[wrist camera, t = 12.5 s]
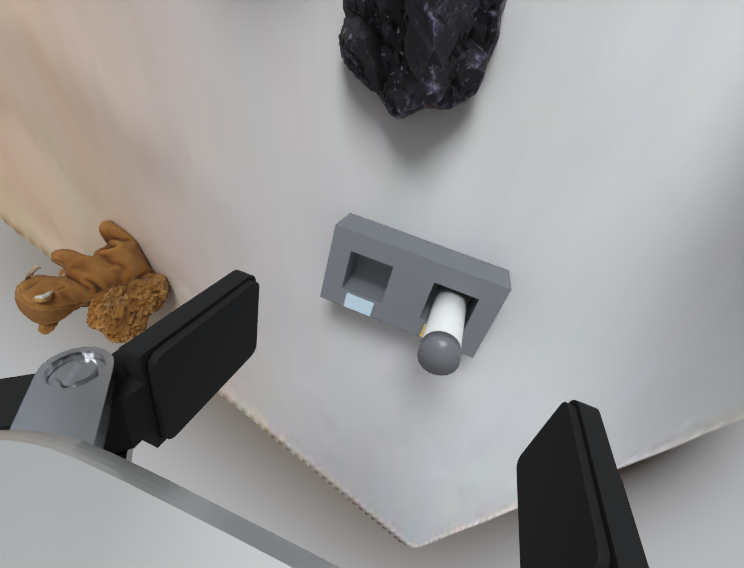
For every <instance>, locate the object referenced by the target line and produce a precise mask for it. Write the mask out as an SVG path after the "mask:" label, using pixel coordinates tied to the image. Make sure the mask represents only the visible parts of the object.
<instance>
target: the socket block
mask: <svg viewBox="0 0 744 568" xmlns="http://www.w3.org/2000/svg"><path fill="white" fill-rule="evenodd" d="M439 285H442V286H445V287H448V288H450V289H453V290H456V291H458V292H461V293H464V294H466V295H468V298H467V306H466V314H465V321H464V329H463V337H462V344H461V353H462V354H465V355H467V356H470V357H472V358H473V357H474V355H475V353H476V351H477V349H478V348H479V346H480V344H481V342H482V341H483V339H484V337H485V335H486V333H487V332H488V330H489V328H490V326H491V325H492V323H493V321H494V319H495V317H496V316H497V314H498V312H499V310H500V308H501V307H502V305H503V303H504V301H505V300H506V298H507V296H508V294H509V292H510V291H511V284H510V275H509V271H508V270H506V269H503V268H500V267H497V266H495V265H492V264H489V263H486V262H484V261H481V260H478V259H475V258H473V257H470V256H467V255H464V254H462V253H459V252H456V251H453V250H451V249H448V248H445V247H442V246H440V245H437V244H434V243H431V242H429V241H426V240H423V239H420V238H418V237H415V236H412V235H409V234H407V233H404V232H401V231H398V230H396V229H393V228H390V227H387V226H385V225H382V224H379V223H376V222H374V221H371V220H368V219H365V218H363V217H360V216H357V215H354V214H352V213H349V214H348V215H347V216H346V217H345V218H343V219H342V220H341V221H340V222H338V223H337V224H336V226H335V231H334V235H333V240H332V245H331V249H330V254H329V258H328V263H327V268H326V272H325V277H324V282H323V286H322V291H321V295H320V297H322V298H325V299H327V300H330V301H332V302H335V303H337V304H340V305H342V306H345V307H347V308H350V309H352V310H355V311H357V312H360V313H362V314H365V315H367V316H370V317H372V318H375V319H377V320H380V321H382V322H385V323H387V324H390V325H392V326H395V327H397V328H400V329H402V330H405V331H407V332H410V333H412V334H415V335H417V336H420V337H422V338H423V335H424V332H425V328H426V325H427V322H428V318H429V315H430V312H431V308H432V305H433V302H434V298H435V295H436V291H437V288H438V286H439Z"/></svg>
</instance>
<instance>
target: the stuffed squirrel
mask: <svg viewBox="0 0 744 568" xmlns="http://www.w3.org/2000/svg"><path fill="white" fill-rule="evenodd" d="M99 231H100V234H101V236H102V237H103V239H104V240H105V241H106V243H107V245H106V246H105V247H103V248H100V249H98V250H96V251H95V252H93V253H92V254H91V255H90V256H87V255H84V254H81V253H79V252H76V251H73V250H70V249H59V250H55V251H54V252H52V253H51V260H52V261H53V262H54V263H56V264H58V265H60V266H61V267H63V268H64V269H61V270H60V272H59V277H55V276H45V275H35V276H33V275H34V273H35V272H36V271H37V270H38V269H40V268H41V267H40V266H38V267H37V265H34V267H33V268H32V269H31V270H30V272H29V273H28V274H27V276H26V277H25V280H24V281H22V282H21V283H20V284H19V285H17V287H16V291H15V301H16V304H17V306H18V308H19V309H20V311H21V312H22V313H23V314H24V315H25V316H27V317H28V318H29V319H30V320H31V321H33V322H36V323H39V327H38V330H39V332H41V333H42V334H48V333H50V332H51V331H53V330H54V329H55V327H56V326H57V324H58V322H59V321H60V320H62V319H64V318H65V317H67V316H68V315H69V314H71V313H72V312H73V311H74V310H77V309H79V308H80V307H89V309H88V314H87V316H88V318H87V324H88V326H89V327H91V328H92V329H97V330H99V331H100V332H102V333H103V334H104V336H105V337H106V338H108V340H109V341H111V342H113V343H118V342H119V343H122V342H124V343H127V342H128V341H130V340H131V339H132V337H133V338H134V337H136V336H137V335H139V334H140V333H142V332H143V331H145V330H146V328H147V322H148V317H149V316H150V315H151V314H153V313H154V311H155V312H157V311H158V310H160V308H162V305H163V304H164V302H165V299H166V298H168V291H169V284H168V282H167V278H166V277H165V276H164V275H162V274H160V273H155V272H154V271H153V270H152V268H150V267H149V264H148V262H147V259H146V257H145V255H144V254H143V252H142V250H141V248H140V247H139V245H138V243H137V242H136V240H135V239H134V238H133V237H132V236H131V235H129V234H128V233H127V232H126V231H125V230H123V229H122V228H121V227H119V226H118V225H116V224H115V223H114V222H112V221H107V220H106V221H102V222H101V224H100V226H99ZM36 267H37V268H36ZM35 268H36V269H35ZM34 269H35V270H34ZM33 270H34V271H33ZM32 271H33V272H32ZM31 272H32V273H31ZM30 273H31V274H30ZM29 274H30V275H29ZM28 275H29V276H28ZM31 276H33V277H31ZM30 277H31V278H30Z"/></svg>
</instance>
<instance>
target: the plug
mask: <svg viewBox="0 0 744 568" xmlns="http://www.w3.org/2000/svg"><path fill="white" fill-rule="evenodd" d="M467 298H468V295H466V294H464V293H461V292H458V291H456V290H453V289H450V288H448V287H445V286H442V285H439V286H438V288H437V291H436V295H435V298H434V302H433V305H432V308H431V312H430V315H429V318H428V322H427V325H426V328H425V332H424V335H423V339H422V341H421V344H420V348H419V351H418V361H419V363H420V365H421V366H422V367H423V368H424V369H425V370H426V371H428V372H430V373H432V374H435V375H448V374H451V373H453V372H454V371H455V370H456V369H457V368H458V366H459V362H460V354H461V344H462V337H463V329H464V321H465V314H466V306H467Z"/></svg>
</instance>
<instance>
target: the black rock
mask: <svg viewBox="0 0 744 568" xmlns="http://www.w3.org/2000/svg"><path fill="white" fill-rule="evenodd" d="M506 1H507V0H343V10H344V13H345V16H346V17H345V18H344V25H343V26H342V29H341V33H340V34H339V36H338V37H339V40H340V42H339V45H340V51H341V56H342V58H343V59H344V63H345V64H346V66H347V67H348V69H349V70H350V71H352V72H353V74H354V75H355V77H356V78H357V79H360V80H361V81H362V83H363V84H364V85H365V86H366V87H368V88H369V89H370V90H371V91H374V92H377V94H378V95H379V96H380V99H381V100H382V102H383V104H384V105H385V106H386V108H387V110H388V112H389V114H390V115H392V116H393V117H395V118H397V119H398V118H405V117H407V116H408V115H412V114H414V113H416V111H418V110H422V109H426V108H429V109H430V108H436V109H440V110H443V109H446V110H449V109H451V108H452V107H454V106H456V105H457V104H460V103H462V102H465V101H466V100H467V99H468V98H469V97H471V96H473V95H475V94H476V92H477V91H478V89H479V87H480V85H481V83H482V80H483V77H484V73H485V69H486V65H487V63H488V61H489V59H490V57H491V55H492V52H493V49H494V46H495V45H496V43H497V41H498V38H499V35H500V23H501V14H502V12H503V10H504V8H505V5H506Z"/></svg>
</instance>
